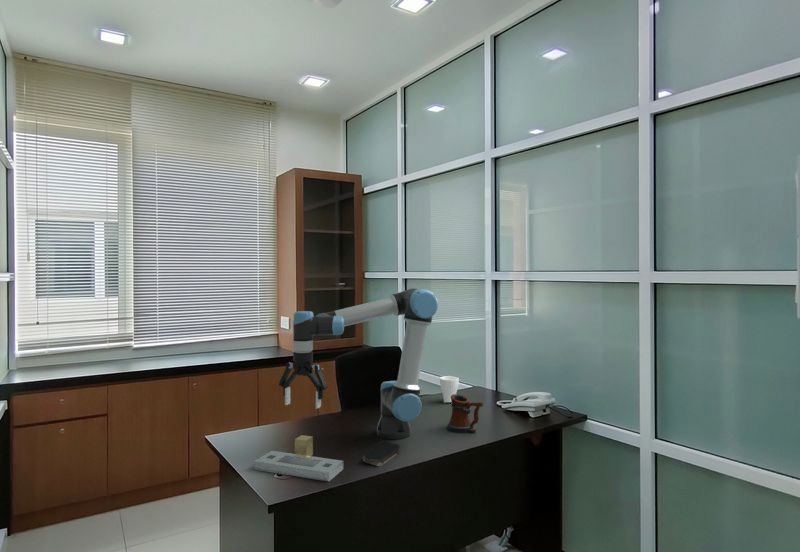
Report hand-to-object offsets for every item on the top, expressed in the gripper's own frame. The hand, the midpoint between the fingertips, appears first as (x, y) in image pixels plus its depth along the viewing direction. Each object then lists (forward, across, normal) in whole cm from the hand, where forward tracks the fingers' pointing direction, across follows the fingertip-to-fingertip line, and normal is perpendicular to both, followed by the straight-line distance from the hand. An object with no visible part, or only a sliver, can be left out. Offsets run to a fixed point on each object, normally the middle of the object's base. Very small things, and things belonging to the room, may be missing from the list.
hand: (302, 406), depth 186 cm
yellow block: (+19, -1, +1) cm, 19 cm away
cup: (+19, -35, -95) cm, 103 cm away
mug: (+19, -54, -51) cm, 76 cm away
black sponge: (+19, -30, -8) cm, 37 cm away
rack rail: (+19, -6, +13) cm, 24 cm away
